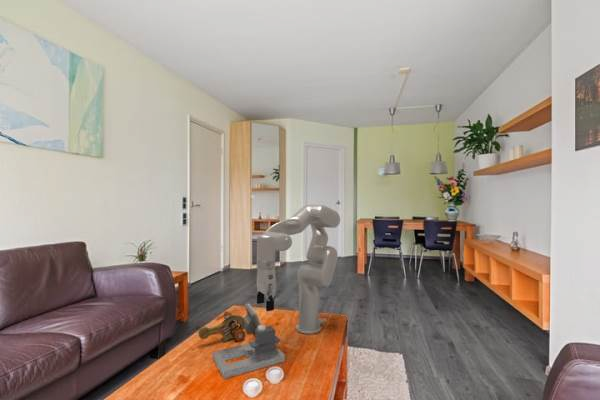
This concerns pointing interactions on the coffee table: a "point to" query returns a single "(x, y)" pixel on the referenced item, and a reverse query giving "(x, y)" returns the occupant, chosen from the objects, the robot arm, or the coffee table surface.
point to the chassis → (247, 364)
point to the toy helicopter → (226, 327)
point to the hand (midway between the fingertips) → (265, 306)
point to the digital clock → (251, 320)
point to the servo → (265, 339)
